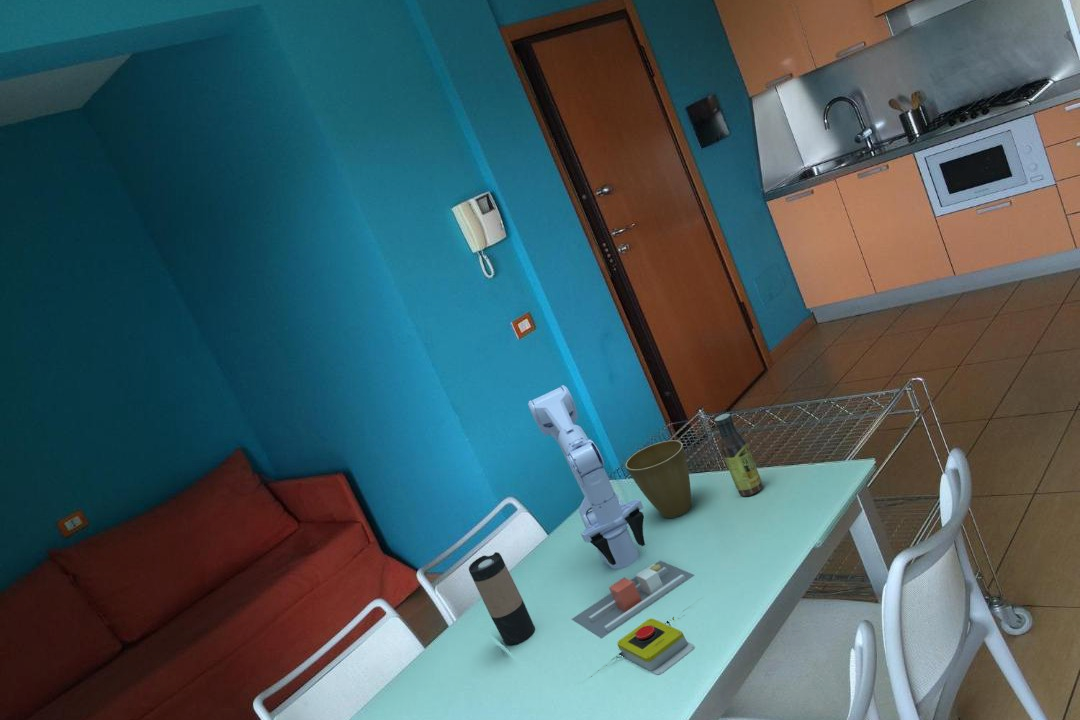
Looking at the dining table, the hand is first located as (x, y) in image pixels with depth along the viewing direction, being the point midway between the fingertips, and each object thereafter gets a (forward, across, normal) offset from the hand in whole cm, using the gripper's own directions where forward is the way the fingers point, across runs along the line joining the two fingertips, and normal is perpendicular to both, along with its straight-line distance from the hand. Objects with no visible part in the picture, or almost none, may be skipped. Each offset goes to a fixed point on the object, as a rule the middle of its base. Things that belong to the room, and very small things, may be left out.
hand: (627, 554), depth 194 cm
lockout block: (+8, -6, -5) cm, 11 cm away
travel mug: (+10, -26, +11) cm, 30 cm away
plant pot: (+10, +26, +25) cm, 37 cm away
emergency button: (+10, -11, -22) cm, 26 cm away
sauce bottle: (+10, +40, +12) cm, 43 cm away
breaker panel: (+9, -4, -2) cm, 10 cm away
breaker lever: (+8, 0, -5) cm, 9 cm away
